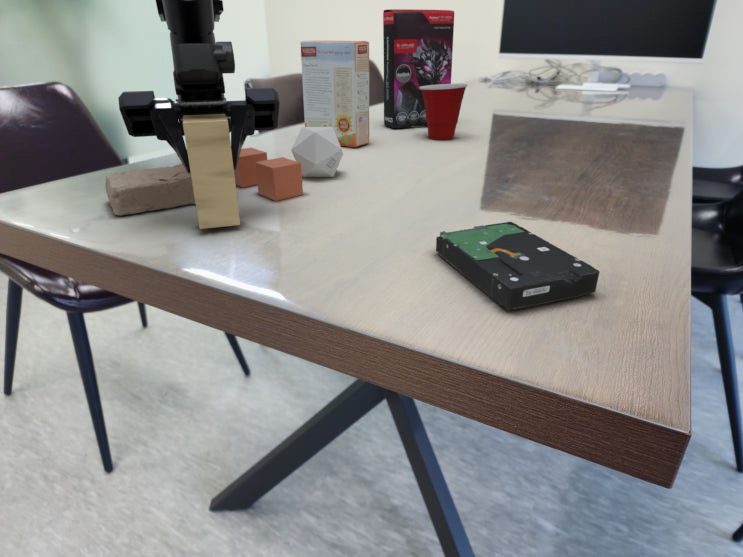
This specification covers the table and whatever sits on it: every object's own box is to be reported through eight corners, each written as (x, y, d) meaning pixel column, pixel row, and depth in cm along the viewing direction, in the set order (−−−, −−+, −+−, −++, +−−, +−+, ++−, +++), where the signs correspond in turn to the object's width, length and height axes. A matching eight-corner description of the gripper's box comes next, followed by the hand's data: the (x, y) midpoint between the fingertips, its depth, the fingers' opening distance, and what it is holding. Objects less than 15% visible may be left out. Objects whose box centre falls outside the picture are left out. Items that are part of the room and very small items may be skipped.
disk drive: (596, 296, 50) (508, 240, 62) (603, 270, 48) (511, 219, 60) (507, 315, 46) (432, 252, 58) (511, 288, 45) (434, 230, 57)
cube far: (228, 181, 85) (224, 151, 83) (254, 176, 88) (251, 147, 86) (242, 187, 82) (239, 156, 80) (269, 182, 85) (266, 152, 83)
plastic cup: (431, 131, 126) (434, 80, 121) (471, 136, 121) (475, 83, 115) (408, 138, 118) (410, 84, 113) (449, 144, 113) (453, 87, 107)
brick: (116, 218, 69) (109, 184, 67) (107, 202, 75) (100, 170, 73) (235, 199, 77) (231, 168, 75) (217, 186, 83) (214, 157, 81)
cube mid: (258, 193, 79) (255, 162, 77) (285, 187, 82) (282, 157, 80) (275, 201, 76) (272, 168, 73) (303, 194, 79) (301, 162, 76)
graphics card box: (392, 130, 128) (394, 8, 116) (380, 125, 134) (381, 9, 122) (449, 125, 135) (457, 9, 122) (436, 121, 140) (442, 10, 128)
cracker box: (370, 143, 113) (370, 40, 104) (355, 148, 108) (354, 41, 99) (320, 137, 120) (316, 39, 110) (304, 141, 115) (299, 40, 106)
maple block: (198, 216, 68) (182, 115, 62) (237, 212, 69) (225, 113, 63) (199, 229, 63) (182, 122, 57) (240, 225, 65) (227, 120, 59)
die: (323, 189, 84) (354, 136, 83) (276, 160, 83) (307, 107, 82) (327, 192, 92) (355, 144, 92) (284, 166, 92) (312, 118, 91)
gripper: (101, 15, 56) (112, 135, 52) (270, 16, 61) (293, 126, 57) (124, 83, 66) (134, 188, 62) (267, 79, 72) (286, 176, 67)
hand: (211, 169), depth 62 cm, fingers closed on maple block, 5 cm apart
